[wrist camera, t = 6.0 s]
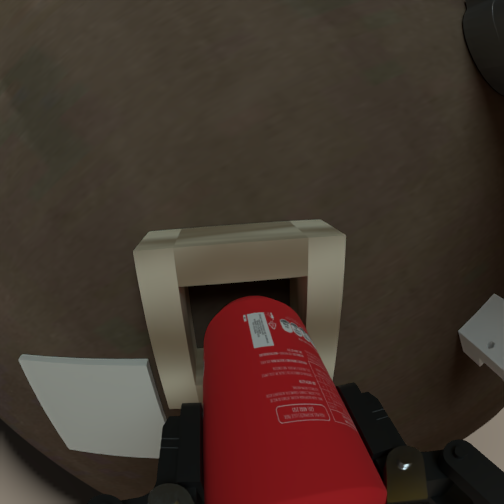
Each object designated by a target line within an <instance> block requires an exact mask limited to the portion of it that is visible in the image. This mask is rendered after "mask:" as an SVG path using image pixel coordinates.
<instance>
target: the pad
mask: <svg viewBox="0 0 504 504" xmlns="http://www.w3.org/2000/svg"><path fill="white" fill-rule="evenodd" d="M18 360H19V362H20V364H21V367H22V369H23V371H24V373H25V375H26V377H27V379H28V381H29V383H30V385H31V387H32V389H33V391H34V393H35V394H36V396H37V398H38V400H39V402H40V403H41V405H42V407H43V409H44V410H45V412H46V414H47V416H48V417H49V419H50V420H51V422H52V424H53V425H54V427H55V429H56V430H57V432H58V433H59V435H60V436H61V438H62V439H63V441H64V442H65V444H66V445H67V447H68V448H69V449H71V450H77V451H84V452H90V453H98V454H106V455H115V456H126V457H140V458H159V454H160V449H161V447H160V445H161V440H162V438H161V437H162V428H163V425H164V424H165V422H166V421H167V419H166V416H165V413H164V410H163V407H162V404H161V401H160V398H159V395H158V391H157V388H156V385H155V381H154V378H153V375H152V371H151V368H150V364H149V360H148V359H90V358H66V357H50V356H36V355H25V354H22V355H21V356H20V358H19V359H18Z"/></svg>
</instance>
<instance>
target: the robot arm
mask: <svg viewBox="0 0 504 504" xmlns="http://www.w3.org/2000/svg"><path fill="white" fill-rule="evenodd" d="M465 2H466V6H467V10H466V12H465V14H464V18H463V29H464V34H465V39H466V42H467V45H468V48H469V50H470V53H471V55H472V57H473V60H474V62H475V63H476V65H477V67H478V69H479V71H480V72H481V74H482V75H483V77H484V78H485V80H486V81H487V82H488V83H489V84H490V86H491V87H492V88H493V89H494V90H496V91H497V92H498V93H500V94H501V95H503V96H504V0H465ZM336 389H337V391H338V393H339V395H340V397H341V399H342V401H343V403H344V405H345V407H346V409H347V411H348V413H349V415H350V417H351V419H352V421H353V423H354V425H355V427H356V429H357V431H358V433H359V435H360V437H361V439H362V441H363V443H364V445H365V447H366V449H367V451H368V453H369V455H370V457H371V459H372V461H373V463H374V465H375V467H376V469H377V471H378V473H379V475H380V477H381V480H382V482H383V484H384V486H385V488H386V490H387V498H386V504H504V472H503V471H501V469H499V468H498V467H497V466H496V465H495V464H493V463H492V462H491V461H490V460H489V459H488V458H486V457H485V456H484V455H483V454H482V453H481V452H480V451H478V450H477V449H476V448H475V447H473V445H471V444H470V443H468V442H467V441H464V440H453V441H451V442H449V443H448V444H447V445H446V446H445V448H444V449H443V450H438V451H430V452H420V451H419V450H417V449H416V448H414V447H411V446H407V445H406V444H405V442H404V441H403V439H402V438H401V436H400V434H399V433H398V431H397V429H396V428H395V426H394V424H393V423H392V421H391V420H390V418H389V417H388V415H387V413H386V412H385V410H383V407H382V405H381V403H380V402H379V400H378V399H377V398H376V397H374V396H373V395H372V394H370V393H369V392H365V393H361V392H360V390H359V388H358V386H357V385H356V384H355V383H349V384H345V385H340V386H336ZM161 438H162V440H161V445H160V447H161V449H160V454H159V463H158V473H157V481H156V485H155V487H154V488H153V489H152V491H151V492H149V493H148V494H146V495H144V496H142V497H139V498H133V499H128V500H122V501H120V500H119V499H118V498H116V497H114V496H111V495H106V494H102V495H98V496H95V497H93V498H92V499H91V500H90V501H89V502H88V503H87V504H204V474H203V407H202V403H201V402H200V403H182V405H181V415H180V416H169V418H168V419H167V421H166V422H165V424H164V425H163V428H162V437H161Z"/></svg>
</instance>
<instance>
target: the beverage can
mask: <svg viewBox="0 0 504 504" xmlns="http://www.w3.org/2000/svg"><path fill="white" fill-rule="evenodd" d="M203 474H204V504H386V498H387V490H386V488H385V486H384V484H383V482H382V480H381V477H380V475H379V473H378V471H377V469H376V467H375V465H374V463H373V461H372V459H371V457H370V455H369V453H368V451H367V449H366V447H365V445H364V443H363V441H362V439H361V437H360V435H359V433H358V431H357V429H356V427H355V425H354V423H353V421H352V419H351V417H350V415H349V413H348V411H347V409H346V407H345V405H344V403H343V401H342V399H341V397H340V395H339V393H338V391H337V389H336V387H335V385H334V383H333V381H332V379H331V377H330V375H329V373H328V371H327V369H326V367H325V365H324V363H323V361H322V359H321V357H320V356H319V354H318V352H317V350H316V348H315V346H314V344H313V342H312V340H311V338H310V336H309V334H308V332H307V330H306V328H305V326H304V324H303V322H302V320H301V319H300V317H299V316H298V314H297V313H296V312H295V311H294V310H293V309H292V308H290V307H289V306H287V305H286V304H284V303H282V302H279V301H277V300H275V299H272V298H270V297H266V296H261V295H250V296H244V297H240V298H238V299H235V300H233V301H231V302H230V303H228V304H227V305H225V306H224V307H223V308H222V309H221V310H220V311H219V313H218V314H217V315H216V316H215V317H214V318H213V319H212V320H211V322H210V323H209V325H208V327H207V329H206V332H205V336H204V355H203Z"/></svg>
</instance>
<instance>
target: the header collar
mask: <svg viewBox="0 0 504 504" xmlns="http://www.w3.org/2000/svg"><path fill="white" fill-rule="evenodd" d="M345 246H346V235H345V234H343V233H341V232H340V231H338V230H337V229H335V228H333V227H332V226H330V225H329V224H327V223H325V222H324V221H322V220H320V219H319V220H300V221H283V222H267V223H252V224H237V225H223V226H210V227H197V228H185V229H173V230H161V231H150V232H148V234H147V235H146V236H145V237H144V238H143V240H142V241H141V242H140V243H139V244H138V246H137V247H136V248H135V249H134V251H133V254H134V260H135V266H136V272H137V278H138V283H139V289H140V294H141V299H142V304H143V309H144V314H145V318H146V323H147V327H148V332H149V336H150V340H151V344H152V348H153V352H154V356H155V360H156V364H157V368H158V372H159V375H160V379H161V382H162V386H163V389H164V393H165V396H166V399H167V403H168V406H169V409H181V405H182V403H200V402H201V403H202V407H203V355H204V348H197V344H196V338H195V331H194V325H193V318H192V311H191V304H190V297H189V290H188V286H198V285H212V284H224V283H237V282H249V281H260V280H271V279H282V278H290V308H292V309H293V310H294V311H295V312H296V313H297V314H298V316H299V317H300V319H301V320H302V322H303V324H304V326H305V328H306V330H307V332H308V334H309V336H310V338H311V340H312V342H313V344H314V346H315V348H316V350H317V352H318V354H319V356H320V357H321V359H322V361H323V363H324V365H325V367H326V369H327V371H328V373H329V375H330V377H331V379H332V381H333V374H334V367H335V359H336V351H337V343H338V334H339V325H340V315H341V305H342V293H343V280H344V264H345Z"/></svg>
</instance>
